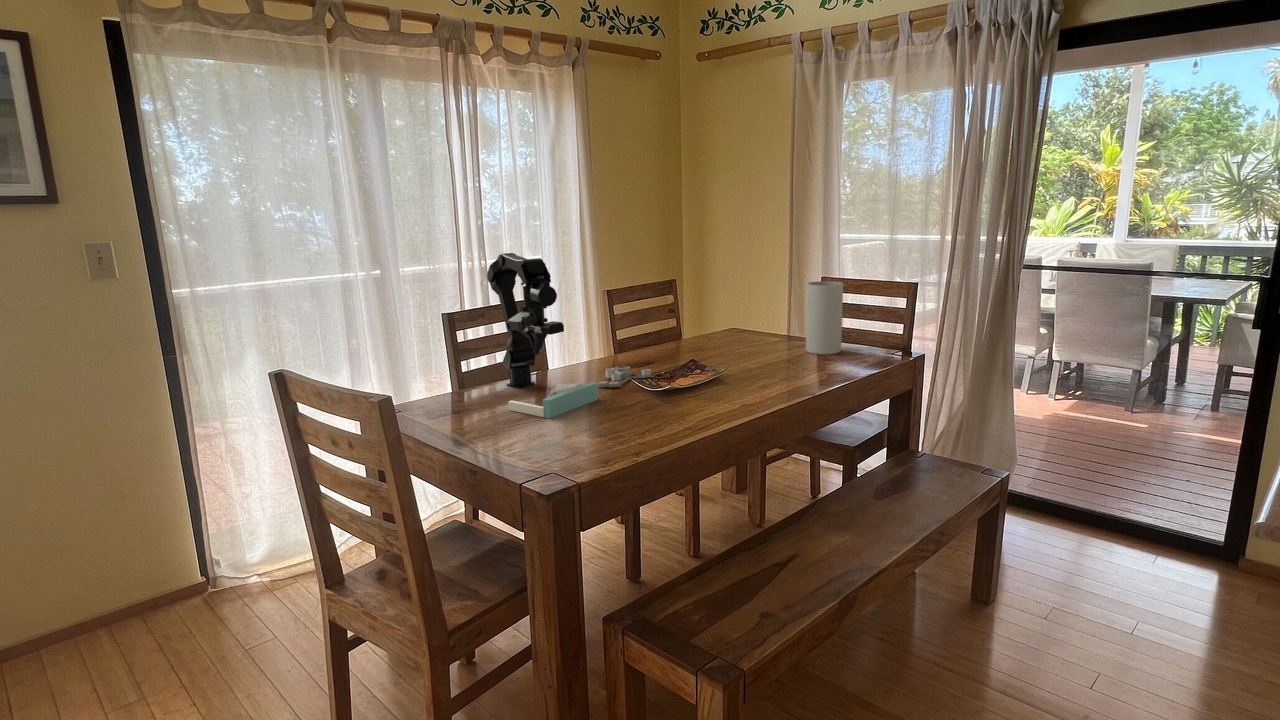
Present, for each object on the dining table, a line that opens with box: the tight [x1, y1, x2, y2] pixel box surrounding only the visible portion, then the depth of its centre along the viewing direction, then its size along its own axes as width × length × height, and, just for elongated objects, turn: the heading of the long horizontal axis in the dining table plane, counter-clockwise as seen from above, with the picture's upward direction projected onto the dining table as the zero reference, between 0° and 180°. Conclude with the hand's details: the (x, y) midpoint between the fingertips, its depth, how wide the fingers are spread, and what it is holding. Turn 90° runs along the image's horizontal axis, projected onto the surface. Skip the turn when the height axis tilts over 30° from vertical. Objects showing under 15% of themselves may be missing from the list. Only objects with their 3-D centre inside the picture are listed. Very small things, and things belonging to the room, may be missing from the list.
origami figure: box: [546, 382, 583, 398], centre depth 205 cm, size 12×8×5 cm
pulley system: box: [597, 365, 665, 389], centre depth 229 cm, size 27×5×15 cm
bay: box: [508, 381, 599, 419], centre depth 203 cm, size 16×21×5 cm
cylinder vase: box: [805, 280, 844, 356], centre depth 257 cm, size 12×12×25 cm
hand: (536, 353), depth 211 cm, fingers closed
